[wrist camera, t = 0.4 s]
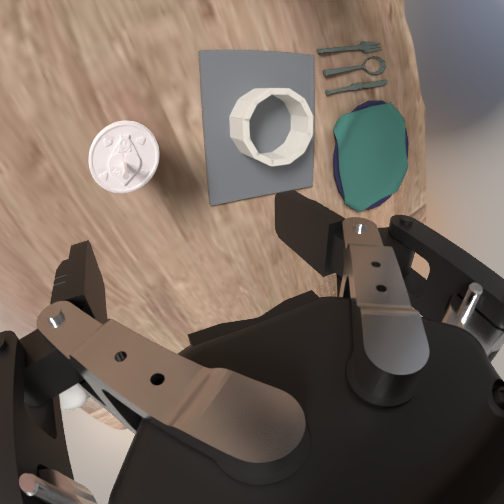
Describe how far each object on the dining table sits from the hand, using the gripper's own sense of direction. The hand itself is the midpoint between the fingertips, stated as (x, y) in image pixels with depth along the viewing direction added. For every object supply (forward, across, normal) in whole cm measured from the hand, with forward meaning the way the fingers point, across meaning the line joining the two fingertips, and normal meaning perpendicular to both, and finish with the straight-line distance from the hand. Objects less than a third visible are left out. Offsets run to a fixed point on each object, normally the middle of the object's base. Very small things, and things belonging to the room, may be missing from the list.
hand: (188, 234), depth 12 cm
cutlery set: (+25, -36, +1) cm, 44 cm away
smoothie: (+25, +2, -1) cm, 25 cm away
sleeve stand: (+25, -16, 0) cm, 30 cm away
